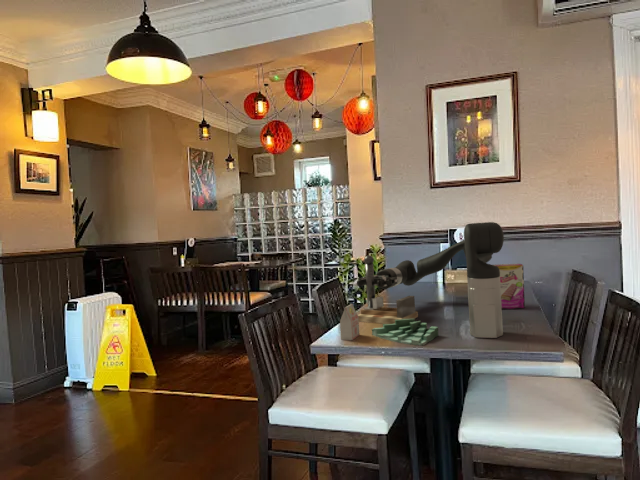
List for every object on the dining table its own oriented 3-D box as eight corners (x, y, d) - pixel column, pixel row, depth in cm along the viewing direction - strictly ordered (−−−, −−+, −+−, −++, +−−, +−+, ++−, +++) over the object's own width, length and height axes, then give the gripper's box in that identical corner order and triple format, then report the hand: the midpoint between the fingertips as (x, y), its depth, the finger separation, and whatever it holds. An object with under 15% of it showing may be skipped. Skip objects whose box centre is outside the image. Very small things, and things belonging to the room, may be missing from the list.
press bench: (355, 321, 170) (354, 299, 170) (375, 313, 181) (373, 293, 181) (400, 325, 159) (398, 301, 159) (417, 316, 170) (416, 295, 170)
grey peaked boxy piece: (341, 339, 145) (339, 307, 144) (348, 334, 151) (346, 303, 150) (352, 340, 143) (350, 307, 143) (359, 334, 149) (357, 303, 149)
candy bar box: (494, 309, 174) (492, 265, 173) (491, 307, 179) (488, 264, 178) (526, 308, 173) (523, 264, 172) (521, 305, 178) (519, 262, 177)
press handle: (364, 313, 173) (360, 256, 172) (370, 310, 177) (367, 254, 176) (377, 314, 169) (373, 255, 169) (384, 311, 173) (380, 254, 173)
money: (444, 334, 145) (443, 318, 145) (423, 347, 132) (422, 330, 131) (386, 329, 156) (385, 314, 156) (361, 340, 143) (360, 325, 143)
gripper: (372, 268, 189) (351, 273, 176) (404, 268, 180) (384, 273, 167) (374, 286, 189) (352, 293, 176) (406, 287, 181) (385, 294, 168)
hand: (367, 283), depth 172 cm, fingers open, 8 cm apart
